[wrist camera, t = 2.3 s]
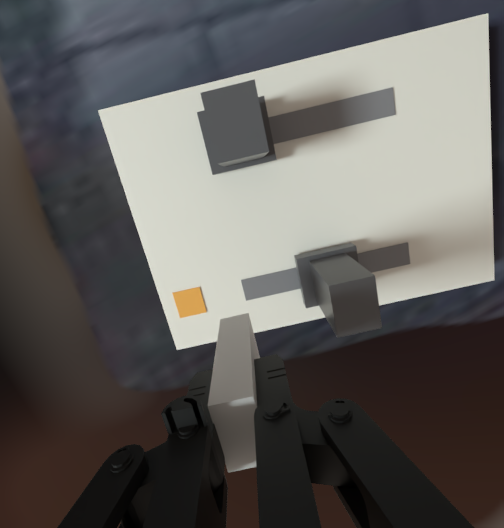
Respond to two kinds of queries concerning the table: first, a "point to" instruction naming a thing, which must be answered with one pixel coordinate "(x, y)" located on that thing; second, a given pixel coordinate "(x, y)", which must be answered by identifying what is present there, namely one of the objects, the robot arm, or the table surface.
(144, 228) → the panel
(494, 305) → the table surface
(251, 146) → the block
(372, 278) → the block
